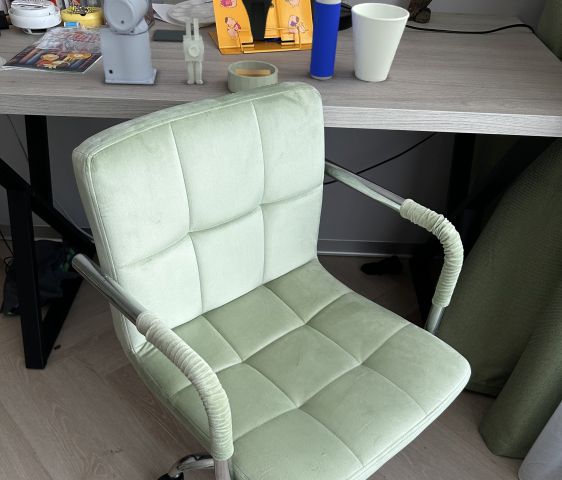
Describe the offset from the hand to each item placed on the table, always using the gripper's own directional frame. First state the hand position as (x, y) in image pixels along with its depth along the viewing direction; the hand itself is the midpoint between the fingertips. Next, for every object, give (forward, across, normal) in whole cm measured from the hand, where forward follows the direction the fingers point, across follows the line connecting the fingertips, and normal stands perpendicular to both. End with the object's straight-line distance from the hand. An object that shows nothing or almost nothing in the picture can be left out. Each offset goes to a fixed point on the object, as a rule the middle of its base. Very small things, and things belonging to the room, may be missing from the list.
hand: (257, 33), depth 110 cm
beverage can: (+11, +7, -14) cm, 19 cm away
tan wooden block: (+9, 0, +2) cm, 10 cm away
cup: (+12, +8, -24) cm, 28 cm away
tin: (+10, 0, +2) cm, 10 cm away
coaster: (+8, +31, +19) cm, 38 cm away
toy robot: (+9, +1, +13) cm, 16 cm away
